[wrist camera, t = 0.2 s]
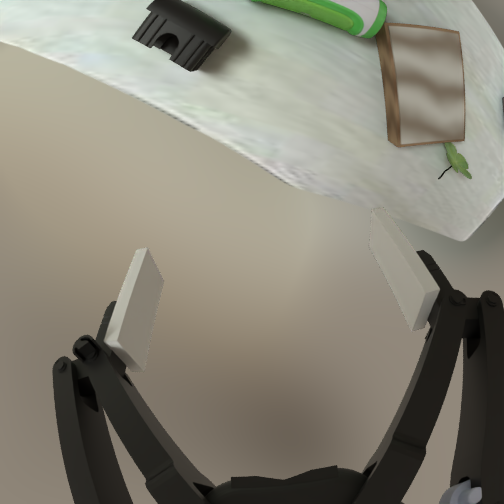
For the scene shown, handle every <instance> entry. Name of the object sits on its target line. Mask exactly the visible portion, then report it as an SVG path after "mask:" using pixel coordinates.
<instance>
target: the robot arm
mask: <svg viewBox="0 0 504 504" xmlns="http://www.w3.org/2000/svg"><path fill="white" fill-rule="evenodd" d="M369 248H370V250H371V252H372V254H373V255H374V257H375V259H376V261H377V263H378V265H379V266H380V268H381V270H382V272H383V274H384V276H385V278H386V280H387V282H388V284H389V286H390V288H391V290H392V292H393V294H394V296H395V298H396V300H397V302H398V304H399V306H400V308H401V310H402V313H403V315H404V317H405V319H406V321H407V323H408V326H409V328H410V330H411V332H412V331H416V330H419V329H422V328H424V327H425V325H426V323H427V321H428V322H429V324H430V326H431V327H430V329H429V331H428V333H427V336H426V338H425V339H426V342H425V344H424V347H423V350H422V353H421V355H420V358H419V361H418V363H417V366H416V369H415V372H414V374H413V376H412V379H411V381H410V384H409V386H408V389H407V391H406V393H405V395H404V398H403V400H402V402H401V404H400V406H399V408H398V411H397V413H396V415H395V417H394V419H393V421H392V423H391V425H390V427H389V429H388V431H387V432H386V434H385V436H384V438H383V440H382V442H381V444H380V445H379V447H378V449H377V450H376V452H375V453H374V455H373V456H372V458H371V459H370V461H369V462H368V464H367V465H366V467H365V469H364V470H363V472H362V473H359V472H357V471H354V470H350V469H344V468H337V465H336V466H331V467H325V468H320V469H314V470H310V471H307V472H305V473H302V474H299V475H297V476H294V477H291V478H288V479H285V480H280V479H273V478H265V477H259V476H249V477H231V481H228V482H225V483H222V484H221V485H219V486H217V487H216V486H215V485H214V484H213V483H212V482H211V481H210V480H209V479H208V478H206V477H205V476H204V475H202V474H201V473H200V472H199V471H198V470H197V469H196V468H195V466H194V465H193V464H192V463H191V462H190V461H189V459H188V458H187V457H186V456H185V455H184V454H183V452H182V451H181V450H180V449H179V447H178V446H177V445H176V444H175V442H174V441H173V440H172V438H171V437H170V436H169V435H168V433H167V432H166V431H165V429H164V428H163V427H162V425H161V424H160V423H159V421H158V420H157V418H156V417H155V416H154V414H153V413H152V411H151V410H150V408H149V407H148V406H147V404H146V403H145V401H144V400H143V398H142V397H141V395H140V394H139V392H138V391H137V389H136V387H135V386H134V384H133V383H132V381H131V380H130V378H129V377H128V375H127V374H126V373H125V369H126V366H127V367H128V368H129V369H130V370H131V371H132V372H144V371H145V366H146V361H147V356H148V351H149V346H150V341H151V336H152V331H153V326H154V321H155V317H156V313H157V308H158V304H159V300H160V296H161V291H162V287H163V283H164V280H163V278H162V276H161V274H160V272H159V270H158V268H157V266H156V264H155V262H154V260H153V258H152V256H151V253H150V251H149V249H148V248H143V249H138V250H136V253H135V255H134V258H133V260H132V263H131V265H130V268H129V271H128V273H127V275H126V278H125V281H124V283H123V286H122V289H121V291H120V294H119V297H118V300H117V301H113V302H111V303H110V305H109V306H108V307H107V309H106V311H105V314H104V318H103V320H102V324H101V325H100V328H99V331H98V334H97V337H96V340H94V339H93V338H92V337H91V336H90V335H84V336H82V337H80V338H79V339H78V340H77V341H76V342H75V344H74V346H73V354H74V355H75V356H76V357H77V358H78V359H77V360H74V361H71V360H70V359H69V358H68V357H65V356H64V357H61V358H59V359H58V360H57V361H56V362H55V364H54V366H53V388H54V400H55V410H56V418H57V425H58V433H59V439H60V444H61V450H62V455H63V460H64V465H65V469H66V474H67V478H68V482H69V485H70V489H71V493H72V496H73V499H74V503H75V504H133V502H132V500H131V497H130V495H129V492H128V489H127V487H126V484H125V482H124V479H123V476H122V473H121V470H120V467H119V464H118V461H117V458H116V455H115V452H114V449H113V445H112V442H111V438H110V435H109V431H108V427H107V424H106V419H105V415H104V411H103V408H104V410H105V412H106V414H107V416H108V418H109V420H110V421H111V423H112V425H113V427H114V429H115V431H116V432H117V434H118V436H119V437H120V439H121V441H122V443H123V444H124V446H125V448H126V449H127V451H128V452H129V454H130V456H131V457H132V458H133V460H134V462H135V463H136V465H137V466H138V468H139V469H140V471H141V472H142V474H143V475H144V477H145V478H146V483H145V484H146V488H147V489H148V491H149V492H150V494H151V495H152V496H153V498H154V499H155V500H156V502H157V503H158V504H404V503H402V502H401V500H402V499H403V497H404V495H405V494H406V492H407V490H408V489H409V487H410V485H411V483H412V481H413V480H414V478H415V476H416V474H417V472H418V470H419V468H420V466H421V464H422V462H423V460H424V457H425V455H426V445H427V442H428V440H429V438H430V435H431V433H432V431H433V428H434V426H435V423H436V421H437V418H438V416H439V413H440V410H441V407H442V405H443V402H444V399H445V396H446V393H447V390H448V387H449V384H450V381H451V377H452V374H453V370H454V367H455V363H456V360H457V356H458V352H459V348H460V343H461V339H462V338H463V389H462V402H461V414H460V422H459V431H458V437H457V444H456V450H455V455H454V460H453V466H452V472H451V481H450V488H449V489H448V490H446V491H445V493H444V494H443V495H442V497H441V499H440V502H439V504H504V308H503V303H502V300H501V298H500V296H499V295H498V294H497V293H495V292H493V291H484V292H483V293H482V295H481V297H480V298H467V297H466V296H465V295H464V294H463V293H462V292H461V291H459V290H454V289H453V288H452V286H451V285H450V283H449V281H448V280H447V278H446V277H445V275H444V274H443V272H442V271H441V269H440V268H439V266H438V265H437V264H436V262H435V261H434V259H433V258H432V256H431V255H429V254H428V253H427V252H425V251H424V250H421V251H415V250H414V248H413V247H412V245H411V244H410V243H409V241H408V240H407V238H406V237H405V235H404V234H403V233H402V231H401V230H400V229H399V227H398V226H397V225H396V223H395V222H394V221H393V219H392V218H391V217H390V215H389V214H388V213H387V211H386V210H385V209H384V208H383V207H382V208H375V209H372V211H371V227H370V239H369ZM102 406H103V407H102Z"/></svg>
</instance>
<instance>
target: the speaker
mask: <svg viewBox="0 0 504 504" xmlns="http://www.w3.org/2000/svg"><path fill="white" fill-rule="evenodd" d="M250 1H253V2H256V1H261V2H263V3H266V4H270V5H273V6H277V7H281V8H284V9H287V10H291V11H294V12H297V13H300V14H303V15H306V16H309V17H312V18H314V19H317V20H320V21H322V22H325V23H328V24H330V25H333V26H335V27H338V28H340V29H342V30H346V31H347V32H348V33H350V34H351V35H355V36H358V37H363V38H371V37H373V36H374V35H376V34H377V32H378V31H379V30H380V29H381V27H382V25H383V23H384V21H385V18H386V14H387V7H386V4H385V3H384V2H383V1H382V0H250Z"/></svg>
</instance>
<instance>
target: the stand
mask: <svg viewBox="0 0 504 504" xmlns="http://www.w3.org/2000/svg"><path fill="white" fill-rule="evenodd" d="M375 36H376V41H377V47H378V52H379V58H380V65H381V72H382V79H383V87H384V96H385V106H386V118H387V133H388V141H390V142H391V143H393V144H394V145H395V146H397V147H405V146H414V145H423V144H433V143H445V142H458V141H464V140H465V84H464V69H463V58H462V50H461V42H460V35H459V32H458V31H453V30H448V29H442V28H436V27H429V26H421V25H411V24H400V23H383V25H382V27H381V29H380V30H379V31H378V32H377V34H376V35H375Z"/></svg>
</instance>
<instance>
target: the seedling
mask: <svg viewBox="0 0 504 504" xmlns="http://www.w3.org/2000/svg"><path fill="white" fill-rule="evenodd" d="M445 147H446V150H447V152H448V153H447V157H448V160H449V162H450V164H451V165H452V166H450V167H449V168H448V169H446V170H445V171H444V172H443V174H444V173H445V172H446V171H447V170H449V169H450V168H451V167H453V168H454V170H455V171H456V172H457V173H458V170H459V171H460V172H461V173H462V174H464V175H465V176H466V177H467V178H469V179H472V176H471V174H470V173H469V172H468V171H467V170H466V169H468V164H467V162H466V160H465V158H464V157H463V156H462V155H461V154H459V153H457V150H456V147H455V146H454V145H453V144H452V143H451V142H445ZM464 168H465V169H464ZM443 174H442V175H441V176H440V177H439V178H438V179H440V178H441V177H442V176H443Z"/></svg>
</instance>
